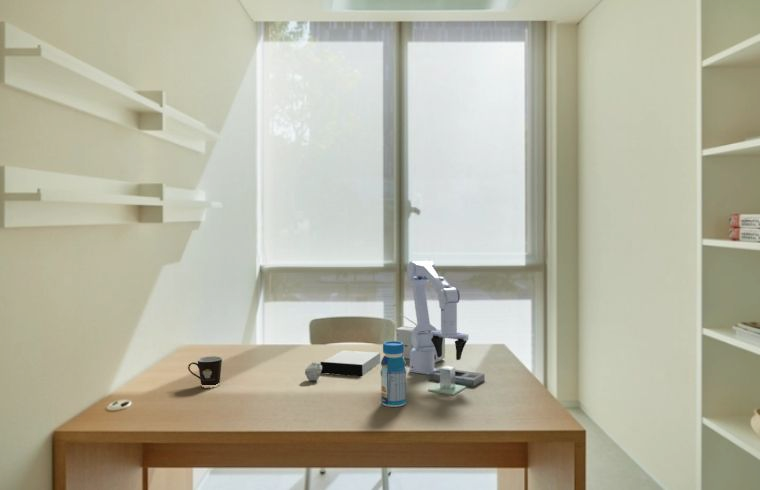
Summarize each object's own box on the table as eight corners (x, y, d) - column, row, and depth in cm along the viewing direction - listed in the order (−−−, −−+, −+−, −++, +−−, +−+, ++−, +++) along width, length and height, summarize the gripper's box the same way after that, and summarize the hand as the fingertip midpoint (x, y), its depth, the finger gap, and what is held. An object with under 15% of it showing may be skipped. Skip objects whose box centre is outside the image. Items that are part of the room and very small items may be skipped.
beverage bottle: (398, 409, 177) (397, 346, 177) (376, 405, 182) (375, 344, 181) (411, 402, 184) (410, 341, 184) (389, 398, 189) (388, 339, 188)
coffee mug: (227, 384, 208) (227, 357, 208) (211, 390, 200) (210, 362, 200) (203, 380, 213) (202, 354, 212) (186, 386, 205) (186, 359, 205)
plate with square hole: (429, 380, 210) (429, 373, 210) (441, 373, 218) (441, 367, 218) (473, 387, 200) (473, 380, 200) (484, 380, 208) (484, 373, 208)
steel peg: (440, 387, 198) (440, 368, 198) (445, 385, 201) (445, 365, 201) (450, 389, 196) (450, 369, 195) (455, 386, 199) (455, 367, 199)
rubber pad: (428, 390, 197) (428, 389, 197) (441, 383, 205) (441, 382, 205) (453, 395, 191) (453, 393, 191) (466, 387, 199) (466, 386, 199)
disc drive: (320, 374, 221) (320, 361, 221) (342, 361, 243) (342, 349, 243) (361, 377, 216) (361, 365, 216) (380, 363, 237) (380, 352, 237)
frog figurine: (325, 380, 211) (325, 362, 211) (311, 384, 206) (311, 365, 206) (315, 377, 216) (315, 359, 215) (301, 381, 210) (300, 362, 210)
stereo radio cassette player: (445, 360, 241) (445, 313, 240) (437, 364, 234) (436, 316, 233) (403, 354, 252) (403, 310, 251) (394, 358, 245) (393, 312, 244)
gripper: (425, 320, 203) (426, 357, 203) (462, 324, 195) (462, 363, 195) (435, 317, 209) (435, 353, 209) (470, 321, 201) (470, 358, 201)
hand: (448, 358), depth 203 cm, fingers open, 7 cm apart
